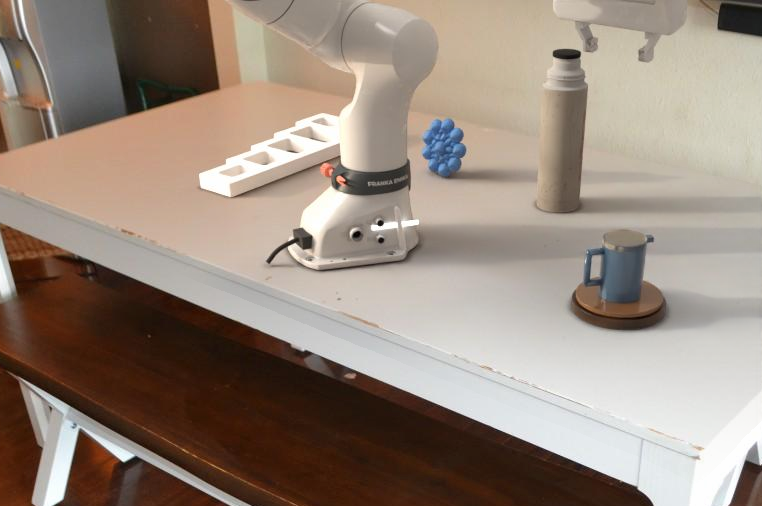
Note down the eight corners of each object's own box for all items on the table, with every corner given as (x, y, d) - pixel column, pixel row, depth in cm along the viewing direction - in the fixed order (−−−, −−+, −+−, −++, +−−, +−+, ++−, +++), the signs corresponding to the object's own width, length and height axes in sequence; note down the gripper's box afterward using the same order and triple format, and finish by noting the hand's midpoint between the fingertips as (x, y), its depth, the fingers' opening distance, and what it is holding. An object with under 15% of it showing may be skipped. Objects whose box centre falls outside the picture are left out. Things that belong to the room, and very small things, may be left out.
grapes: (479, 178, 197) (480, 118, 190) (456, 186, 193) (456, 126, 186) (438, 164, 204) (438, 106, 197) (414, 172, 200) (414, 113, 193)
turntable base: (606, 338, 141) (607, 328, 140) (553, 299, 151) (554, 290, 150) (684, 317, 146) (685, 308, 145) (627, 281, 157) (628, 272, 156)
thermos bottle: (580, 198, 187) (592, 46, 172) (577, 214, 180) (588, 57, 165) (539, 196, 188) (546, 44, 173) (534, 211, 182) (541, 55, 167)
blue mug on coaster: (643, 275, 154) (650, 217, 149) (676, 313, 143) (685, 251, 138) (564, 283, 152) (568, 224, 147) (592, 322, 141) (597, 259, 136)
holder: (231, 197, 188) (229, 183, 187) (169, 178, 197) (167, 165, 196) (382, 139, 218) (382, 126, 217) (323, 124, 228) (322, 113, 226)
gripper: (540, -45, 137) (546, 53, 146) (669, -31, 126) (667, 74, 134) (567, -58, 141) (571, 38, 149) (694, -46, 129) (691, 58, 138)
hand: (617, 55), depth 142 cm, fingers open, 8 cm apart
